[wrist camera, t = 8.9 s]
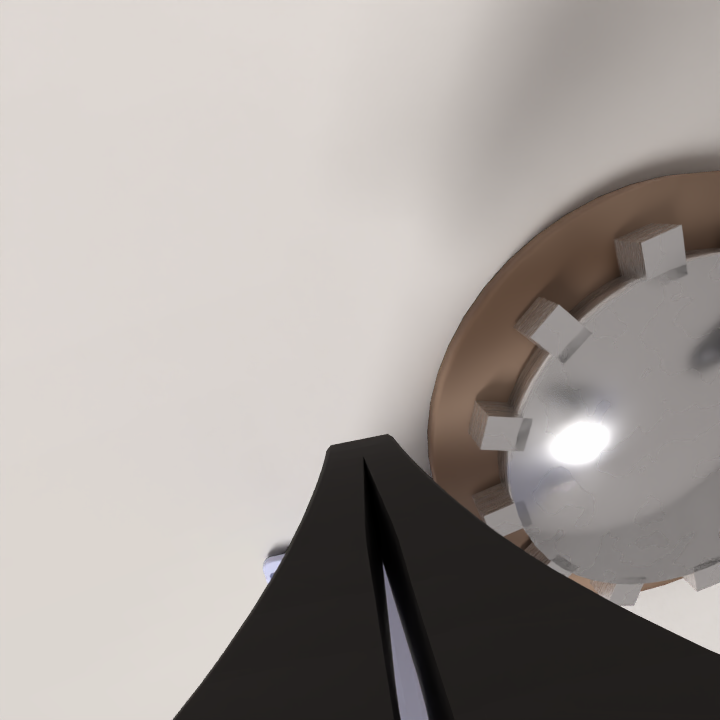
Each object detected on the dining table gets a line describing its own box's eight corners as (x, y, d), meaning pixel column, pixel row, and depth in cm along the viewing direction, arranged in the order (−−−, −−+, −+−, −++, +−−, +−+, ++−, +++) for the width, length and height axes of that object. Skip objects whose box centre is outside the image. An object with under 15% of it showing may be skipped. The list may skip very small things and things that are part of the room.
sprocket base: (798, 536, 27) (855, 574, 24) (447, 615, 25) (464, 665, 23) (911, 132, 18) (1019, 119, 16) (400, 221, 17) (418, 225, 14)
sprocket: (582, 632, 25) (652, 741, 20) (386, 411, 18) (416, 490, 13) (892, 439, 23) (1064, 507, 17) (795, 102, 16) (1026, 53, 11)
